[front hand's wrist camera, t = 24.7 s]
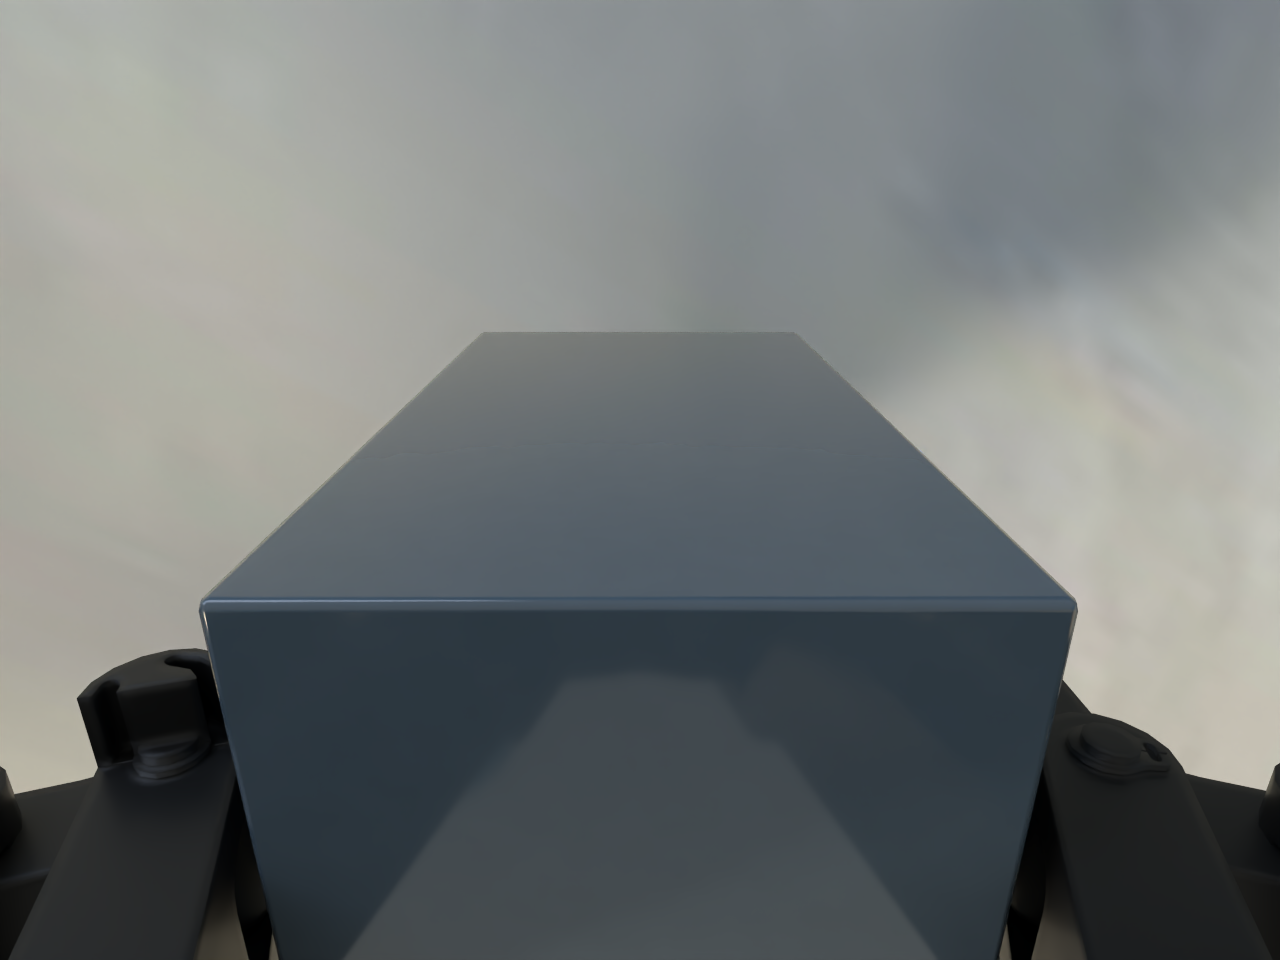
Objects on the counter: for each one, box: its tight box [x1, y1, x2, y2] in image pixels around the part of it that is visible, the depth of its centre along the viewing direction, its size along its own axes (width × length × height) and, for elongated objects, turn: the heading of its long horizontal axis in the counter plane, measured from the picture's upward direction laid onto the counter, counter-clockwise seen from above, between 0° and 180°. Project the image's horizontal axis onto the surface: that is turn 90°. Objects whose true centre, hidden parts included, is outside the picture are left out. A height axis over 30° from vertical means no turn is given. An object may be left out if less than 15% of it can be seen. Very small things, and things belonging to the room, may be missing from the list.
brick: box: [199, 332, 1078, 960], centre depth 11 cm, size 6×6×10 cm
